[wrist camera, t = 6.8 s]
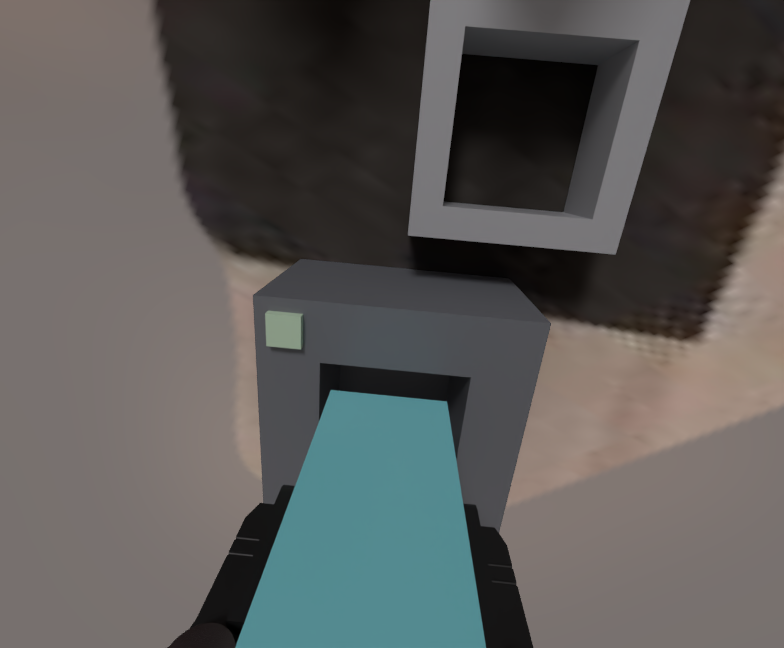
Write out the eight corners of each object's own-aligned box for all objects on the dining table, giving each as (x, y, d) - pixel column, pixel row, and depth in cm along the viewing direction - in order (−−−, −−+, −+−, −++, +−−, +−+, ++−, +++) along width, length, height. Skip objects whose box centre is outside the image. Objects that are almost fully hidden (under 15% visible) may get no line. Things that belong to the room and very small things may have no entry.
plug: (446, 401, 13) (519, 859, 4) (432, 491, 15) (464, 972, 6) (330, 389, 13) (171, 819, 4) (327, 480, 15) (202, 941, 6)
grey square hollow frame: (638, 30, 15) (691, -3, 12) (583, 242, 18) (615, 254, 15) (429, 13, 15) (432, -24, 12) (408, 225, 18) (407, 235, 15)
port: (509, 278, 18) (554, 326, 13) (475, 448, 22) (498, 547, 16) (301, 258, 19) (249, 297, 13) (301, 431, 22) (261, 523, 16)
